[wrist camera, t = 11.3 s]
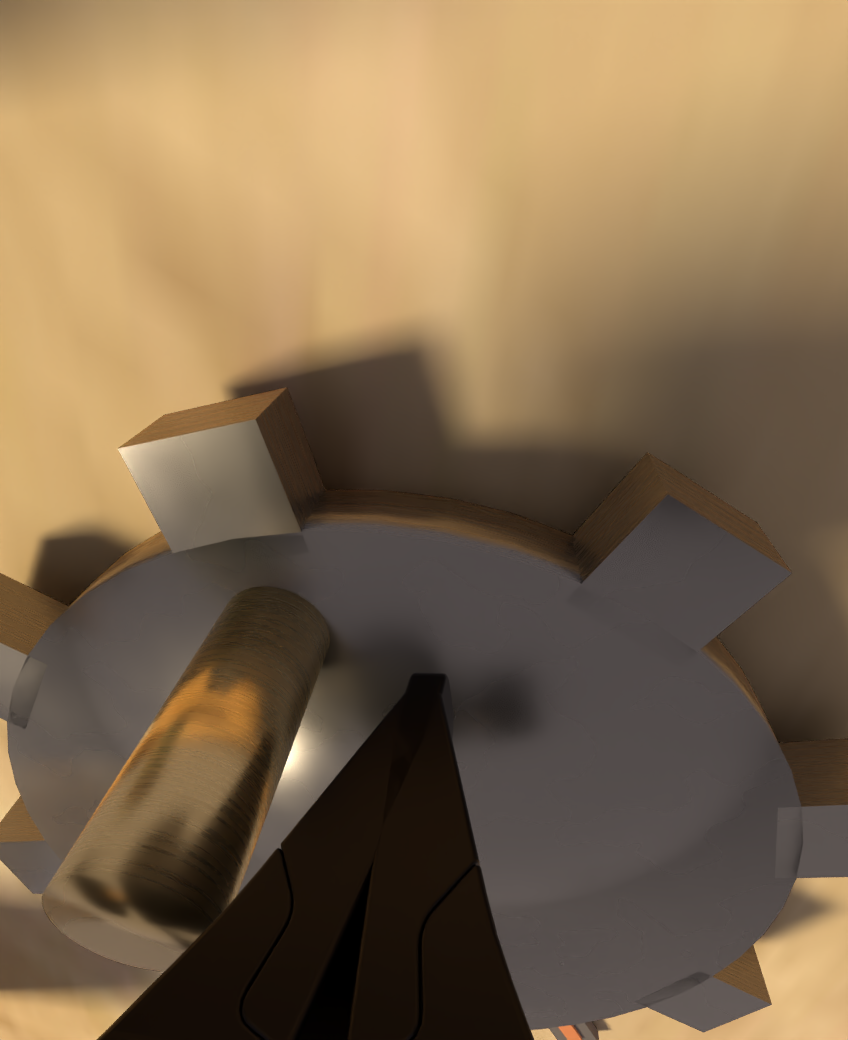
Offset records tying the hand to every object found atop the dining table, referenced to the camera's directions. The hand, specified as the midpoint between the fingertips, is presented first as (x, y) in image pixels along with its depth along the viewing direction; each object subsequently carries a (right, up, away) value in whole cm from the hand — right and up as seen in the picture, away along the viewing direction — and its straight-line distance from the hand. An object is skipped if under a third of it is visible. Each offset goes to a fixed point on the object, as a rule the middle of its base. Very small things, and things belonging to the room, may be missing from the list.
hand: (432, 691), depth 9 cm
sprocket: (-1, -4, +7) cm, 8 cm away
